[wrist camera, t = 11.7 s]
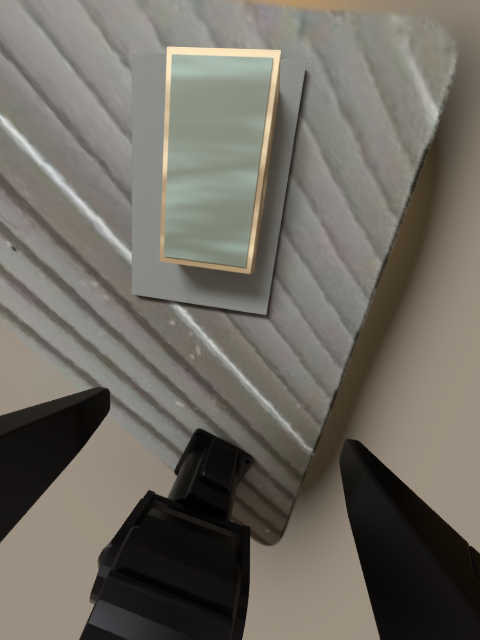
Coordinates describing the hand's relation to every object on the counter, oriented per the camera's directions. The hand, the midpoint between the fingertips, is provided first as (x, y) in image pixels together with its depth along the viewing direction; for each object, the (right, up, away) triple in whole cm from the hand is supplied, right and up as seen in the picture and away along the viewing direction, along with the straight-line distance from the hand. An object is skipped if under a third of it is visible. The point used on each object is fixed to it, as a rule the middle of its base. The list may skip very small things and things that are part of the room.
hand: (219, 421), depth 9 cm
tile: (-1, +8, +9) cm, 12 cm away
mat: (-2, +13, +9) cm, 16 cm away
